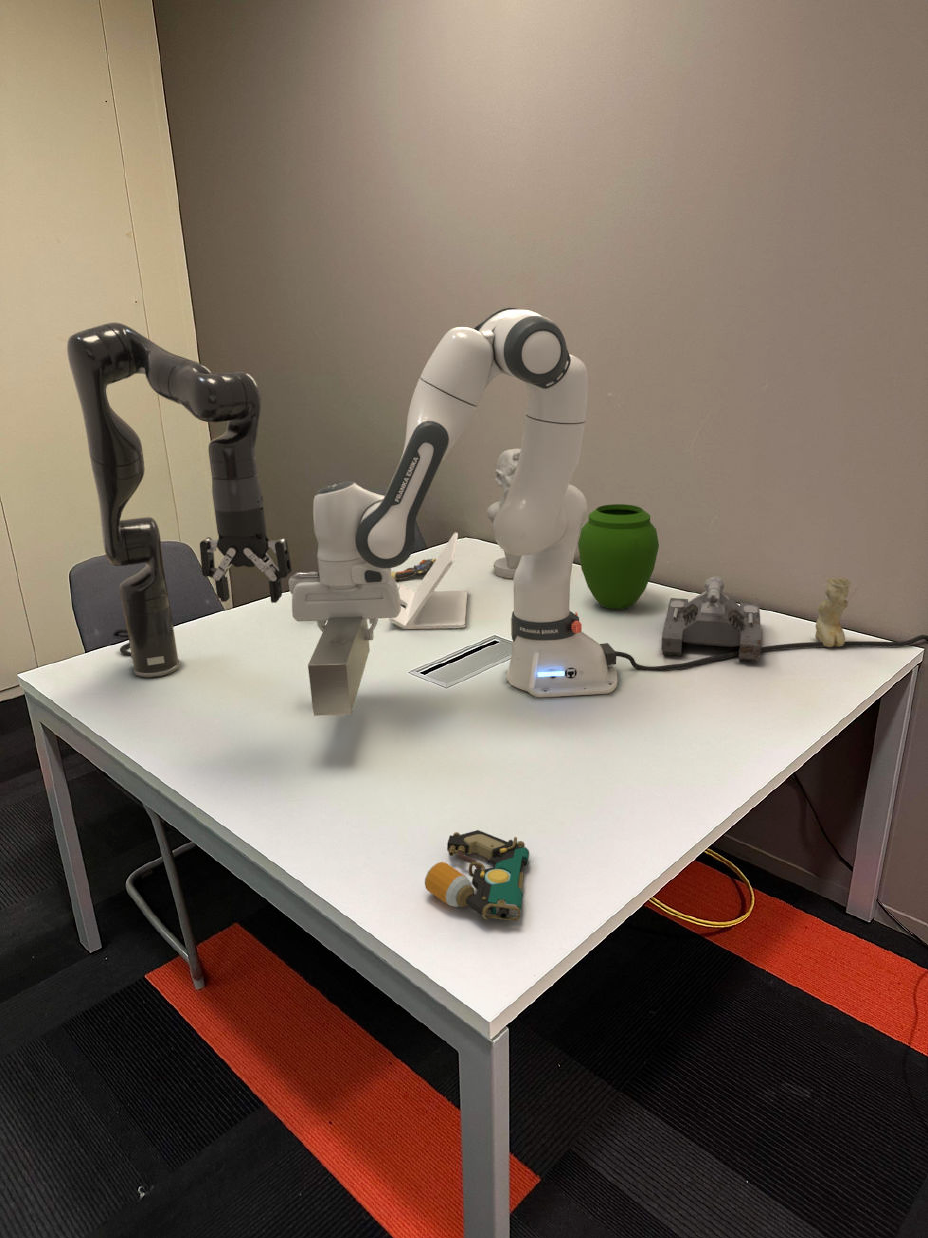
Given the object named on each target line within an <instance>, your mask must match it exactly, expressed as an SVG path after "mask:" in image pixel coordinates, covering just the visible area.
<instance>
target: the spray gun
mask: <svg viewBox="0 0 928 1238" xmlns="http://www.w3.org/2000/svg"><path fill="white" fill-rule="evenodd" d="M525 845H526V843H525V842H524V841H523V840H518V838H517V836H515V837H514V838H513V839H508V840H507V841H506V840H504V839H502V838H499V837H496V836H494V835H492V834H489V833H487V832H484V831H482V830H480V829H476V830H473V831H469V832H466V833H462V834H460V832H457V831H456V832H453V834H452V835H449V836H448V840H447V843H446V847H447V848H446V850H447V852H448V855H449V856H450V857H453V856H455V854H457V856H458V858H459V859H461V860H462V861H464V862H467V863H469V866H468V875H469V877H471V878H472V880H471V881H470V880H469V878H468V877H467V876H466V875H464V874H463V873H462V872H460V871H459V870H457V869H456V868H454V867H453V866H451V865H450V864H448V863H447V862H444V861H440V862H436V863H435V864H434V865H432V866H431V867H430V868H429V869H428V871H427V873H426V875H425V878H424V886H425V890H427V891H428V893H429V894H432V895H433V896H434V897H436V898H437V899H439V901H442V902H443V903H445V904H446V905H448V906H450V907H454V908H458V907H461V908H465V907H467V906H468V907H469V908H471V909H472V910H473V911H475V912H476V913H477V914H478V915H480V916H481V917H482V919H484V920H489V919H495V920H497V919H498V920H505V921H512V922H517V921H518V920H520V918H521V912H522V906H523V901H524V893H523V883H524V877H525V874H524V873H523V872H524V868H525V867H527V866H528V864H529V858H530V850H529V849H528V848H527V847H525ZM465 854H467V855H465ZM472 854H479V855H480V856H482V857H484V858H486V859H487V860H486V863H488V864H494V865H495V866H493V867H489V868H486V867H485V865H484V864H483V863H481V862H479V861H477V860H476V859H474V858H472V857H470V856H468V855H472ZM473 867H475V868H474V871H473ZM472 885H473V886H472ZM475 890H476V893H475ZM490 913H491V914H490ZM514 916H516V917H514Z"/></svg>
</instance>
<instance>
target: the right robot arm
mask: <svg viewBox="0 0 928 1238" xmlns="http://www.w3.org/2000/svg"><path fill="white" fill-rule="evenodd" d="M501 374H504V375H508V376H509V377H513V378H517V379H518V380H520V381H522V382H524V383H525V384H526V389H527V401H526V407H525V413H524V420H523V421H524V422H523V428H522V429H523V430H522V438H521V443H520V444H521V445H520V449H521V451H520V456H519V460H518V464H517V467H516V470H515V473H514V476H513V479H512V482H511V485H510V488H509V491H508V493H507V496H506V499H505V501H504V503H503V505H502V507H501V509H500V510H499V512H498V513H497V515H496V516H495V519H494V522H493V523H492V534H493V537H494V540H495V542H496V544H497V546H498V547H499V548H500V549H501V550H503V552H504V551H505V552H507V553H508V554H511V555H514V556H521V560H520V562H519V565H518V567H517V569H516V571H515V574H514V578H513V611H512V612H511V618H510V635H511V640H512V645H511V646H512V647H511V655H510V660H509V665H508V669H507V672H506V675H505V678H506V681H507V683H509V684H510V685H511V686H513V687H515V688H517V689H519V690H522V691H525V692H527V693H529V694H530V695H531V696H533V697H535V698H556V697H572V696H573V697H574V696H588V695H589V696H590V695H591V696H592V695H607V694H611V693H612V692H613V691H615V690H616V688H617V686H618V673H617V670H616V668H615V667H614V666H613V665H617V657H620V658H624V659H626V660H627V661H629V663H630V664H631V666H632V667H633V668H634V669H637V670H639V671H652V672H661V671H667V670H669V671H670V670H679V669H685V668H690V667H694V666H698V665H703V664H707V663H711V662H716V661H720V660H725V659H730V658H734V657H739V650H737V651H732V652H727V653H721V654H717V655H713V656H708V657H704V658H699V659H695V660H691V661H687V662H682V663H673V664H665V665H656V666H649V665H647V666H646V665H642V664H640V663H637V662H636V659H635V658H634V657H633V655H631V654H629V653H626V652H622V651H617V650H615V649H614V648H613V647H612V646H611V645H610V644H609V643H608V642H605V643H599V642H598V641H596V640H595V639H593V638H591V637H590V636H589V635H587V634H586V633H585V632H583V631H582V630H583V626H582V625H583V624H582V622H581V621H580V616H579V615H578V612H577V611H575V613H574V612H573V611H571V610H570V600H571V599H570V597H571V595H570V594H571V575H572V568H573V564H574V559H575V554H576V551H577V546H578V542H579V538H580V533H581V529H582V527H583V524H584V521H585V519H586V517H587V516H588V515H587V514H588V502H587V499H586V497H585V495H584V493H583V492H582V491H581V490H580V489H579V488H578V487H576V486H575V485H572V484H570V482H571V481H572V478H573V476H574V474H575V471H576V470H577V468H578V466H579V464H580V461H581V455H582V454H581V453H582V449H583V441H584V436H585V435H584V434H585V428H586V422H587V415H588V414H587V413H588V403H589V372H588V368H587V366H586V364H585V363H584V362H583V360H581V359H580V358H579V357H577V356H575V355H573V354H570V353H569V350H568V346H567V343H566V338H565V336H564V334H563V332H562V330H561V329H560V328H559V326H558V325H557V324H556V323H555V322H554V321H553V320H552V319H550V318H548V317H546V316H543V315H540V314H539V313H538V312H536V311H535V312H534V311H532V310H529V309H519V308H515V307H506V308H501V309H498V310H496V311H494V312H492V313H491V314H490V315H489V316H488V317H486V318H485V319H484V320H483V321H482V322H481V323H479V324H478V325H476V326H475V327H474V328H471V327H467V326H460V327H459V326H457V327H452V328H451V329H449V330H448V331H447V332H446V333H445V334H444V335H443V336H442V338H441V339H440V341H439V342H438V344H437V345H436V347H435V349H434V350H433V352H432V353H431V355H430V356H429V358H428V360H427V363H426V364H425V366H424V368H423V370H422V372H421V374H420V377H419V378H418V380H417V383H416V386H415V388H414V391H413V393H412V397H411V400H410V404H409V408H408V412H407V419H406V431H405V432H406V433H405V440H404V447H403V451H402V454H401V457H400V460H399V463H398V465H397V467H396V470H395V471H394V474H393V476H392V478H391V481H390V483H389V486H388V488H387V490H386V493H385V495H383V494H379V493H377V492H376V493H375V492H372V491H370V490H368V489H365V488H364V487H361V486H360V485H358V484H357V483H356V482H354V481H351V480H343V481H336V482H333V483H329V484H327V485H325V486H323V487H321V488H320V489H319V490H318V491H317V492H316V494H315V495H314V498H313V505H312V514H313V517H312V518H313V529H314V530H313V531H314V536H315V538H316V541H317V546H318V548H317V554H316V555H317V556H316V557H317V558H316V559H317V567H318V570H315V571H308V572H307V571H305V572H303V571H299V572H295V573H294V574H293V575H291V576H290V577H289V578H288V581H287V584H288V590H289V593H290V594H291V595H292V597H291V615H292V618H293V619H294V620H295V621H296V622H299V623H300V622H302V623H303V622H316V624H317V627H318V628H319V630H320V632H321V633H323V631H324V628H325V626H326V624H327V622H328V619H329V618H337V617H363V619H367V620H369V624H370V627H369V628H368V629H366V630H365V640H369V641H373V640H374V637H375V635H374V630H375V628H376V626H377V625H378V622H379V619H389V618H396V617H397V616H398V615H399V613H400V611H401V606H402V604H401V602H400V596H399V591H398V588H399V586H398V583H397V581H396V580H395V579H394V578H393V577H391V572H392V569H393V568H397V567H399V566H401V565H402V564H405V562H406V561H408V560H409V558H410V557H411V556H412V554H413V551H414V549H415V542H416V521H417V517H418V514H419V512H420V510H421V507H422V505H423V503H424V500H425V498H426V496H427V493H428V491H429V489H430V487H431V484H432V482H433V480H434V478H435V476H436V473H437V471H438V469H439V468H440V466H441V464H442V463H443V461H444V460H445V458H446V457H447V456H448V455H449V452H450V451H451V450H452V448H453V447H454V446H455V444H456V442H457V441H458V440H459V438H460V437H461V436H462V434H463V432H464V431H465V429H466V428H467V426H468V424H469V423H470V421H471V419H472V418H473V416H474V414H475V412H476V410H477V408H478V406H479V404H480V401H481V399H482V397H483V393H484V391H485V389H486V388H487V386H489V384H490V383H491V382H492V381H493V380H494V379H495V378H496V377H498V376H499V375H501ZM922 640H925V641H927V642H928V635H927V634H920V635H917V636H914V637H912V638H910V639H908V640H903V641H902V640H901V641H873V640H870V641H869V640H865V641H863V640H861V641H860V640H856V641H855V640H854V641H853V640H850V641H849V640H845V643H844V645H842V646H841V647H864V646H865V647H866V646H867V647H905V646H909V645H913V644H915V643H917V642H919V641H922ZM812 647H825V646H824V645H823V642H820V641H807V642H793V643H784V644H781V643H780V644H774V645H765V646H761V652H760V653H762V652H769V651H777V650H787V649H798V648H812ZM833 647H836V646H835V645H834V646H833Z"/></svg>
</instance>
